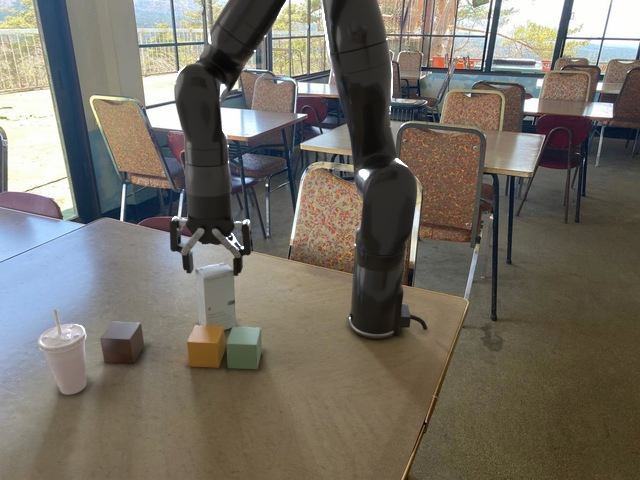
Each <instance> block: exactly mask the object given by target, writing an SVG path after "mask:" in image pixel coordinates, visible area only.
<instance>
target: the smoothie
mask: <svg viewBox="0 0 640 480" xmlns="http://www.w3.org/2000/svg"><path fill="white" fill-rule="evenodd" d="M52 313H53V317H54V318H53V319H54V322H55V323H54V324H55V326H53V327H51V328H49V329H47V330H45V331H44V332H43V333H41V335H40V336H39V337H38V339H37V343H38V348H39V350H40V351H41V352H43V354H44V357H45V358H46V362H47V363H48V366H49V368H50V371H51V372H52V375H53V377H54V379H55V382H56V384H57V386H58V389H59V391H60V394H63V395H65V396H66V395H67V396H69V395H70V396H71V395H74V394H75V395H76V394H78V393H80V392H82V391H83V390H84V389H85V388H86V387H87V368H86V367H87V366H86V344H85V341H86V339H87V333H86V329H85V328H84V326H83V325H80V324H77V323H76V324H75V323H65V324H61V322H60V317H59V313H58V309H57V307H53V308H52Z"/></svg>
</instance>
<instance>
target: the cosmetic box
mask: <svg viewBox="0 0 640 480" xmlns="http://www.w3.org/2000/svg"><path fill="white" fill-rule="evenodd" d="M194 269H195V283H196V295H197V308H198V309H197V310H198V323H199V324H198V325H205V326H224V331H226V330H229V329H232V327H237V317H236V315H237V314H236V293H235V290H236V289H235V276H234V273H233V267H231V266H229V264H228V263H227V262H220V263H216V264H209V265H206V266H201V267H197V268H194Z"/></svg>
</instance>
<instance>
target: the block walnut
mask: <svg viewBox="0 0 640 480" xmlns="http://www.w3.org/2000/svg"><path fill="white" fill-rule="evenodd" d="M99 341H100V346H101V351H102V356H103V361H104V363H105V364H126V365H133V364H135V362H137V361H136V360H137V359H138V357H139V356H140V354H141V352H142V351H143V350H144V348H145V342H144V334H143V326H142V322H133V321H132V322H131V321H129V322H128V321H112V322H111V323H110V324H109V325H108V327H107V328H106V329H105V331H104V332H103V333H102V335H101V336H100V337H99Z"/></svg>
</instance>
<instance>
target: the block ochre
mask: <svg viewBox="0 0 640 480" xmlns="http://www.w3.org/2000/svg"><path fill="white" fill-rule="evenodd" d="M225 339H226V338H225V330H224V326H205V325H200V324H195V325H194V326H193V329H192V331H191V333H190V335H189V337H188V339H187V342H186V344H187V345H186V346H187V355H188V365H189V367H193V368H194V367H197V368H217V369H218V368H220V365H221V363H222V360H223V357H224V354H225V352H226V340H225Z"/></svg>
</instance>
